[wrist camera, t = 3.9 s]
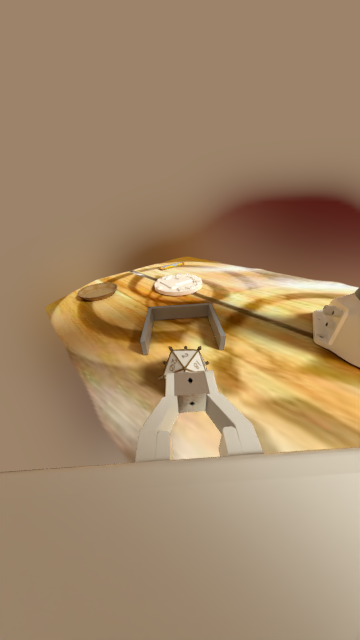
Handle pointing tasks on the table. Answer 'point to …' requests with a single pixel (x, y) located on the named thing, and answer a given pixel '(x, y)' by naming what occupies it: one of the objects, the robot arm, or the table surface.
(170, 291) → the embossed medallion
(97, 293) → the plant saucer
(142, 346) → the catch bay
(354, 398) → the table surface
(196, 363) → the game die
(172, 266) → the candy bar
